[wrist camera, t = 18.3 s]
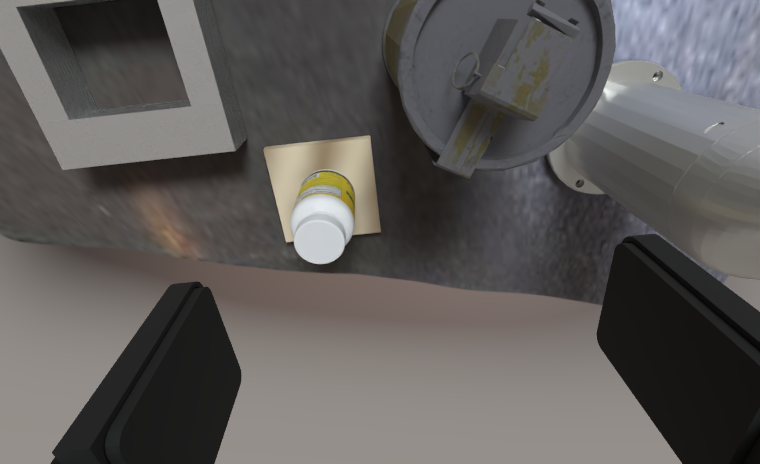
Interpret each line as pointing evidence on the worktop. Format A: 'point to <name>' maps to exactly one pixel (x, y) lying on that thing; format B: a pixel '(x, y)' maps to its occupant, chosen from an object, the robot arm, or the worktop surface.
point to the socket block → (129, 123)
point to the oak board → (336, 154)
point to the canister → (497, 75)
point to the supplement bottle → (323, 216)
